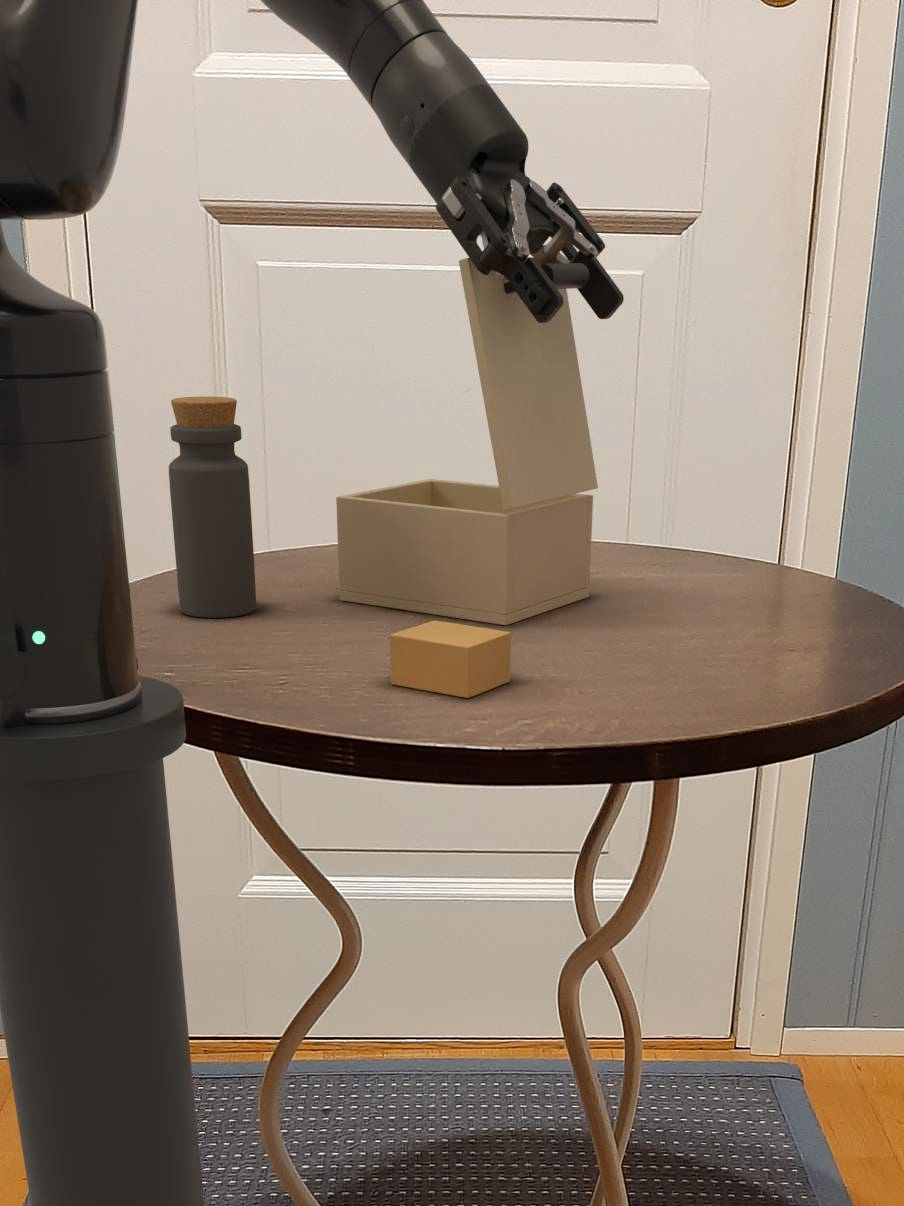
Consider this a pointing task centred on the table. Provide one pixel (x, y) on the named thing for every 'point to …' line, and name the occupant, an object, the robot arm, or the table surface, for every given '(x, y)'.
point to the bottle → (211, 510)
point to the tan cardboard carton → (450, 658)
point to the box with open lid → (463, 551)
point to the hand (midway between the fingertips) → (584, 312)
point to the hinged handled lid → (530, 387)
